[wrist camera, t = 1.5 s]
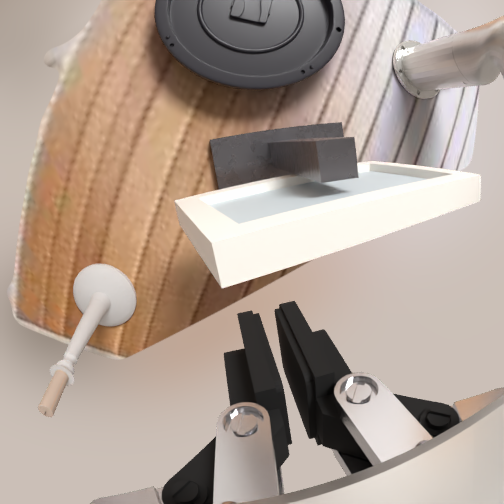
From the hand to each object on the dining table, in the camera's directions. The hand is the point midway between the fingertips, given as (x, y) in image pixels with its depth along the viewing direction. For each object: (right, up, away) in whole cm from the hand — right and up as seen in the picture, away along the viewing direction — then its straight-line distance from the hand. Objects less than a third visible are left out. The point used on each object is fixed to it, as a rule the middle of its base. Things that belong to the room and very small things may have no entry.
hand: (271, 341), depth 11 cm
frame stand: (+4, +19, +38) cm, 43 cm away
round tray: (-1, +43, +29) cm, 52 cm away
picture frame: (+4, +12, +30) cm, 32 cm away
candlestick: (-28, -5, +42) cm, 50 cm away
